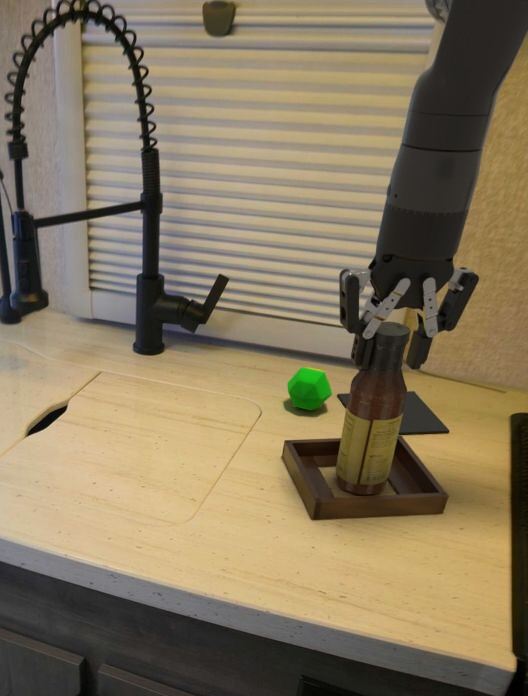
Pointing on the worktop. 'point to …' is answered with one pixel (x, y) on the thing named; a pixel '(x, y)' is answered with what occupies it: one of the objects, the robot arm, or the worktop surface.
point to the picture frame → (405, 477)
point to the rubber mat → (413, 416)
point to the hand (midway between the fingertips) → (386, 366)
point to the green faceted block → (309, 388)
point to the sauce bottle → (374, 414)
